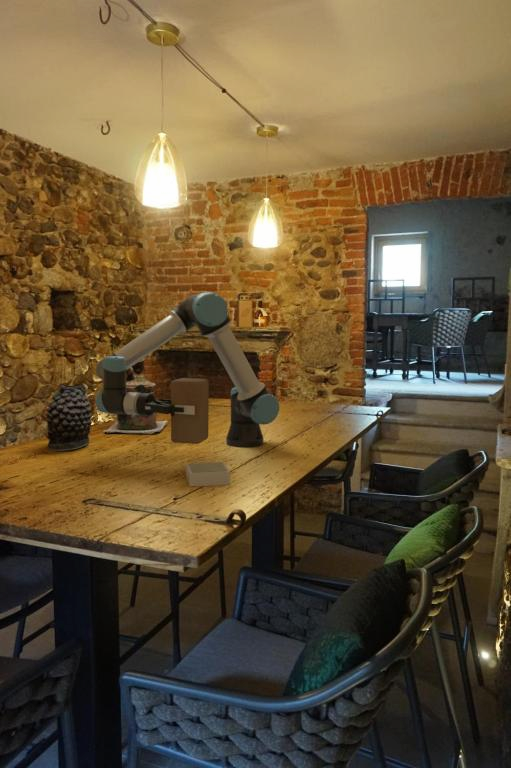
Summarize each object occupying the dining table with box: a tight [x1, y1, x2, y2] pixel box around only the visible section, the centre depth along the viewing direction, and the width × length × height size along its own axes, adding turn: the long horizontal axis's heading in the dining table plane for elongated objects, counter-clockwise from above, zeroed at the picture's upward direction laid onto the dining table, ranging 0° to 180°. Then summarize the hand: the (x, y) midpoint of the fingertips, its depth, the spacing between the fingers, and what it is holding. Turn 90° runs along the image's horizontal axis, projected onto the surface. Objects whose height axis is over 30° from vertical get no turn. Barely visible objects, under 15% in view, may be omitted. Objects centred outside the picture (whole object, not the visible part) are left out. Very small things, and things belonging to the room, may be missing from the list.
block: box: [170, 377, 210, 445], centre depth 178 cm, size 10×10×20 cm
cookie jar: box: [102, 358, 168, 435], centre depth 249 cm, size 25×25×32 cm
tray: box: [185, 461, 231, 487], centre depth 169 cm, size 12×12×4 cm
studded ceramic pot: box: [44, 382, 93, 452], centre depth 211 cm, size 21×15×25 cm
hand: (201, 407), depth 177 cm, fingers closed on block, 11 cm apart
